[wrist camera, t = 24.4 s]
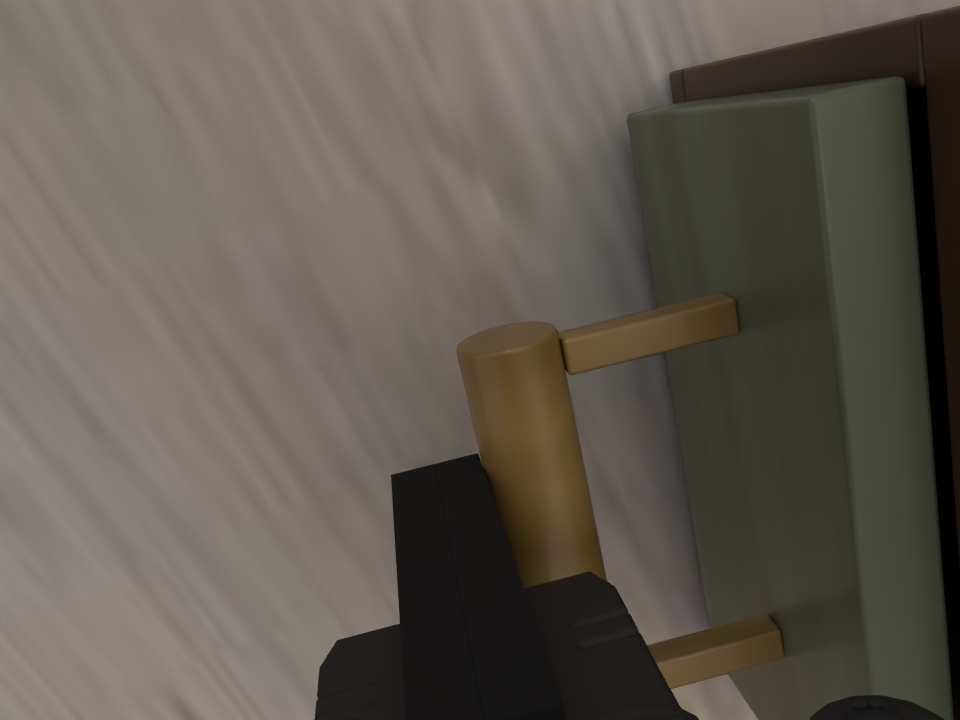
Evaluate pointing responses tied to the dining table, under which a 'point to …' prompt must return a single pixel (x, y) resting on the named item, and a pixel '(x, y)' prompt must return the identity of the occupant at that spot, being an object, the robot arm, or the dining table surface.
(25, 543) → the dining table surface
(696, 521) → the drawer
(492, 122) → the dining table surface
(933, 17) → the cabinet
